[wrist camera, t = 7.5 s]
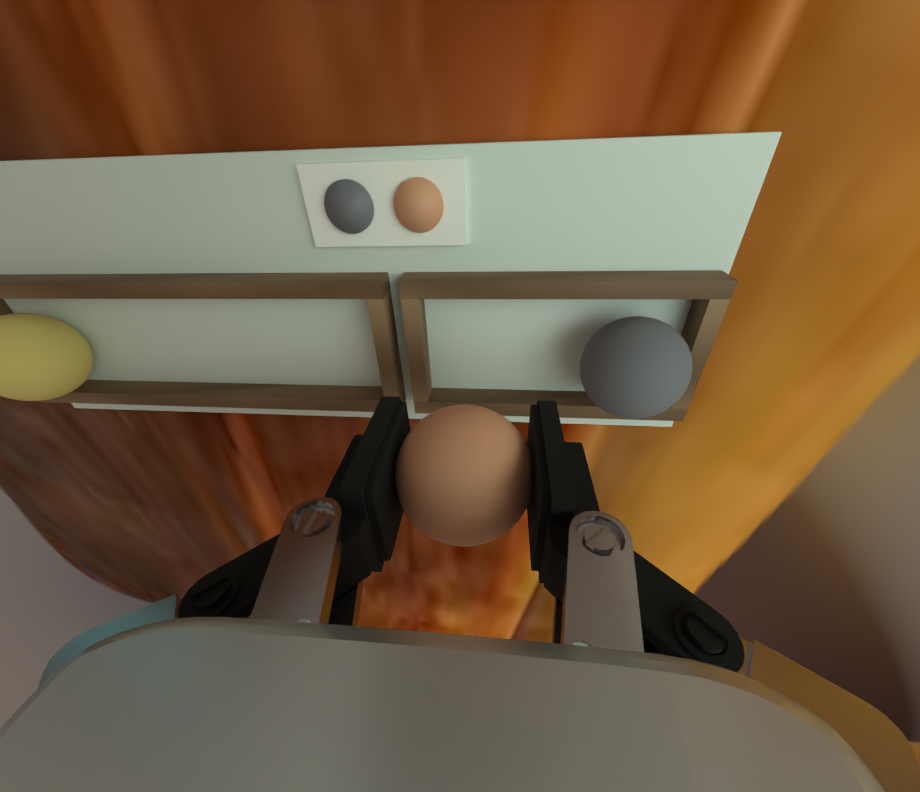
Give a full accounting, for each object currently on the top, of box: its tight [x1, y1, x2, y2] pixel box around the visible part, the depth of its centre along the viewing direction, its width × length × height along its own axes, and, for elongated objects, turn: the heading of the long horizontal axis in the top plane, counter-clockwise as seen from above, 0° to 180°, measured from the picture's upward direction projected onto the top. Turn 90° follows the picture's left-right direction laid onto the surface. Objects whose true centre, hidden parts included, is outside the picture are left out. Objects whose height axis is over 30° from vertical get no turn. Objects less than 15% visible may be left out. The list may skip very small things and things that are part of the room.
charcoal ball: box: [580, 316, 692, 419], centre depth 15 cm, size 4×4×4 cm
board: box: [0, 132, 782, 427], centre depth 17 cm, size 12×33×2 cm, turn 92°
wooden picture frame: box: [0, 272, 406, 412], centre depth 18 cm, size 6×20×1 cm, turn 92°
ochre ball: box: [0, 313, 93, 401], centre depth 17 cm, size 4×4×4 cm
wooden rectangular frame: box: [398, 270, 738, 421], centre depth 16 cm, size 6×12×1 cm, turn 92°
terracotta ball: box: [395, 404, 533, 546], centre depth 11 cm, size 4×4×4 cm
